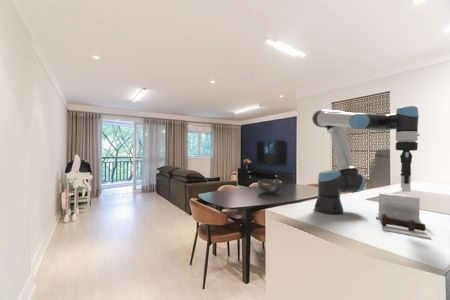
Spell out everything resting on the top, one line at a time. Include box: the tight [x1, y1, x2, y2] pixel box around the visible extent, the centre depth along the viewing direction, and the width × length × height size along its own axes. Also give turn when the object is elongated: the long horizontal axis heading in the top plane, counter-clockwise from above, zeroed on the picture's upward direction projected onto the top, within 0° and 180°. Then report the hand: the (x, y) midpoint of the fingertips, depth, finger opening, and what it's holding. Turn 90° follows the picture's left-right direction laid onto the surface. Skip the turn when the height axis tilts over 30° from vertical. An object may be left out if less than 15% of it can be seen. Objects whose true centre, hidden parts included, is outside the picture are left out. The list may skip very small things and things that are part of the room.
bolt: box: [381, 214, 426, 231], centre depth 98 cm, size 6×5×15 cm
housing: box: [375, 191, 422, 223], centre depth 113 cm, size 18×10×13 cm, turn 53°
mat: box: [381, 224, 432, 240], centre depth 97 cm, size 16×10×1 cm, turn 53°
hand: (405, 189), depth 97 cm, fingers open, 13 cm apart
